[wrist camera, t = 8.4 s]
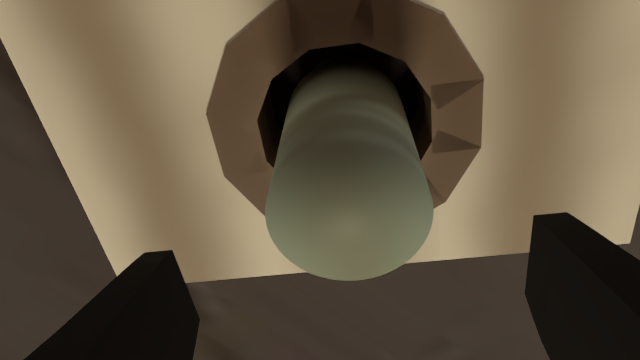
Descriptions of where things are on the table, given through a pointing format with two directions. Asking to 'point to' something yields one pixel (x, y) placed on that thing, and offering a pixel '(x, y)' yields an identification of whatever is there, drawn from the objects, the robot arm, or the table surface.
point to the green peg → (347, 176)
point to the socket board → (264, 134)
